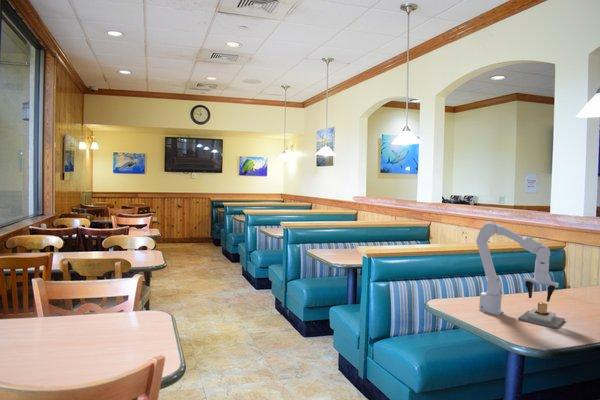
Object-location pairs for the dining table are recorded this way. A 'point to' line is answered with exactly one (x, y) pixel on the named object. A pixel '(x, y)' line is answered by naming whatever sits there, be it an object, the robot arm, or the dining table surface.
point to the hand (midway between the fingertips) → (539, 299)
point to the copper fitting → (542, 308)
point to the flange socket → (542, 319)
